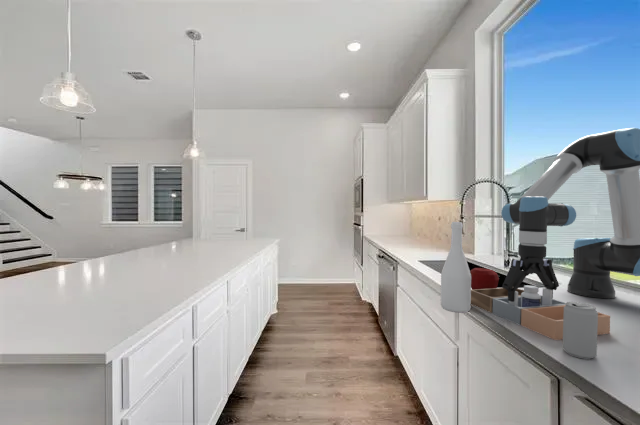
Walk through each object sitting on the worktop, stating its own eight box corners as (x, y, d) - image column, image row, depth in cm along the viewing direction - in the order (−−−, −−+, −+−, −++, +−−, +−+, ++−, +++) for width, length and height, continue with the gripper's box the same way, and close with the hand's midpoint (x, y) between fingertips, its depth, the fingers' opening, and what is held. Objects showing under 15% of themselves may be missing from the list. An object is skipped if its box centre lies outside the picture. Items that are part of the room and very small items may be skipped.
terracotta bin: (571, 320, 100) (571, 304, 100) (609, 333, 90) (610, 315, 90) (521, 325, 95) (521, 308, 95) (555, 340, 85) (555, 321, 85)
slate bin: (539, 309, 111) (539, 294, 111) (570, 319, 100) (570, 304, 100) (492, 313, 106) (492, 298, 106) (519, 325, 96) (520, 308, 95)
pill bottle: (543, 320, 100) (544, 289, 100) (524, 318, 101) (525, 288, 101) (535, 314, 105) (536, 285, 105) (517, 313, 106) (518, 284, 106)
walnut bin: (512, 300, 121) (513, 287, 121) (538, 308, 111) (538, 294, 111) (469, 303, 116) (469, 289, 116) (491, 312, 106) (491, 298, 106)
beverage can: (555, 348, 80) (557, 300, 80) (579, 347, 80) (580, 300, 80) (578, 360, 73) (580, 309, 73) (604, 360, 74) (605, 308, 74)
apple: (504, 299, 123) (505, 268, 122) (479, 300, 121) (480, 269, 121) (485, 291, 133) (486, 263, 133) (462, 292, 132) (462, 264, 132)
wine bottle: (472, 315, 104) (474, 223, 103) (441, 311, 107) (442, 222, 106) (468, 306, 113) (470, 221, 112) (440, 303, 116) (441, 221, 115)
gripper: (551, 242, 109) (549, 304, 110) (490, 243, 103) (489, 308, 104) (573, 245, 102) (571, 311, 103) (510, 246, 96) (508, 316, 96)
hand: (530, 310), depth 103 cm, fingers open, 13 cm apart
